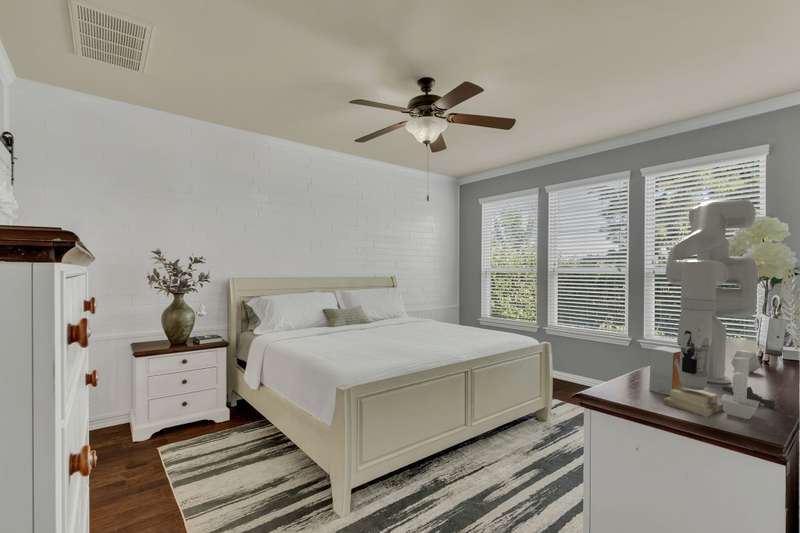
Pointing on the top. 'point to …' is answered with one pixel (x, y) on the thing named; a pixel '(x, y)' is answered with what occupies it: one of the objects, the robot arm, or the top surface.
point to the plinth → (694, 401)
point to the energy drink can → (700, 378)
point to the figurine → (740, 392)
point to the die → (752, 357)
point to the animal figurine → (752, 396)
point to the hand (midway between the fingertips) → (694, 370)
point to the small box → (664, 369)
